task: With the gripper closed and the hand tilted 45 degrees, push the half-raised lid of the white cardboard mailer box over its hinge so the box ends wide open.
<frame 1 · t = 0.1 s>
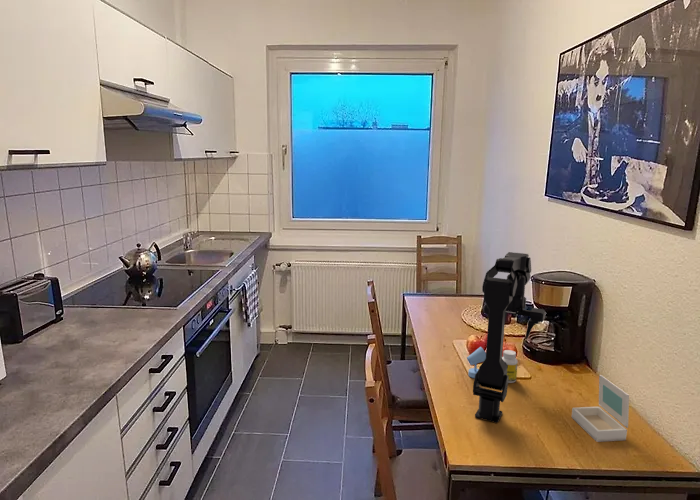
hand: (512, 336, 157), 15 cm above the table, tool pointing down, fingers open, 9 cm apart
spotlight: (476, 375, 161), on the table
lid: (613, 400, 128), point 8 cm above the table, hinge at 85.0°
supplement bottle: (507, 380, 158), on the table
mailer box: (597, 428, 129), on the table
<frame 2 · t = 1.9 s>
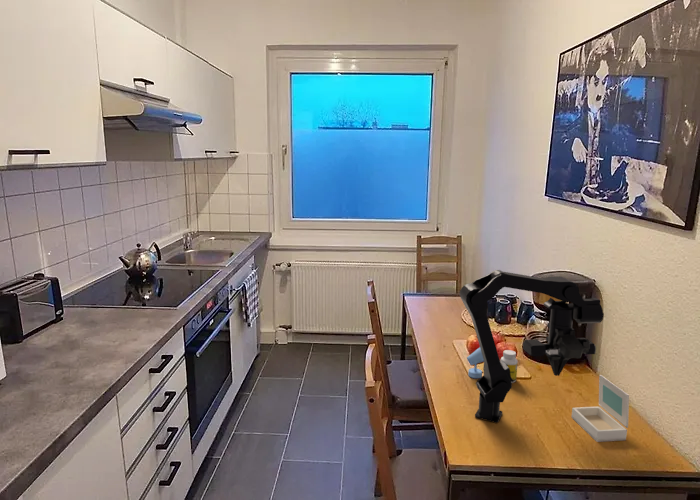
hand: (556, 375, 134), 12 cm above the table, tool pointing down, fingers closed
nothing on the table moved.
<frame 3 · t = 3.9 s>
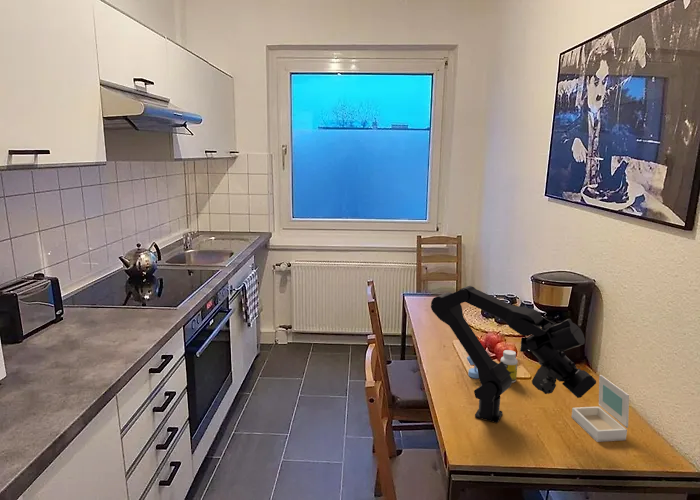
hand: (584, 391, 126), 11 cm above the table, tool tilted 45°, fingers closed
nothing on the table moved.
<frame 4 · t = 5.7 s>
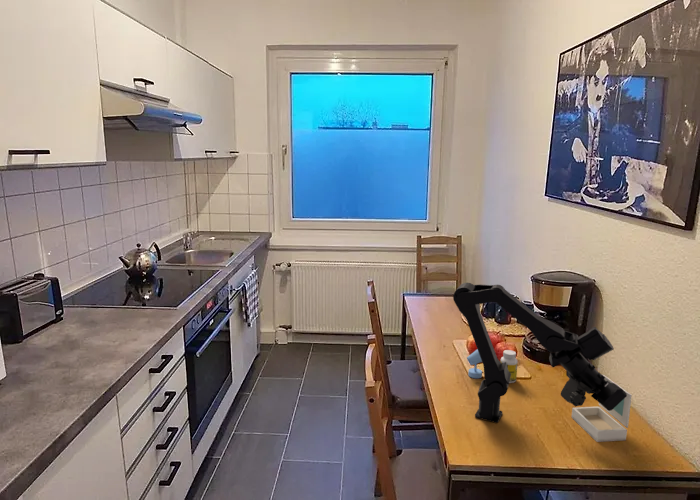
hand: (612, 403, 128), 8 cm above the table, tool tilted 45°, fingers closed, pressing on lid
lid: (614, 400, 128), point 8 cm above the table, hinge at 89.6°, touching gripper
everything else where it was.
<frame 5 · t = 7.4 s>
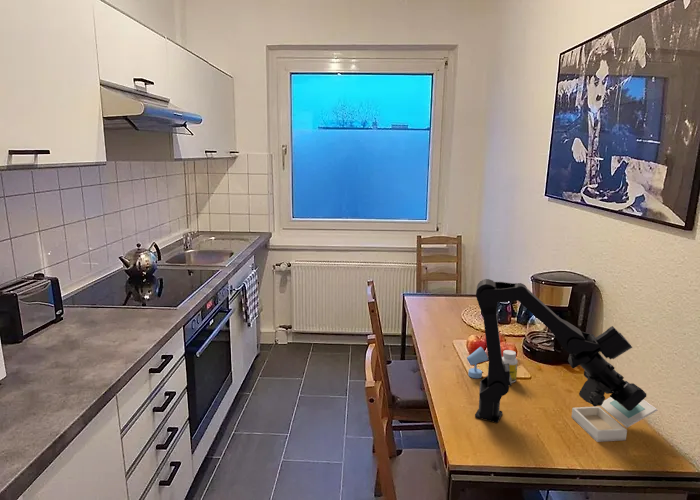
hand: (630, 403, 129), 7 cm above the table, tool tilted 45°, fingers closed, pressing on lid
lid: (626, 406, 129), point 6 cm above the table, hinge at 150.1°, touching gripper
everything else where it was.
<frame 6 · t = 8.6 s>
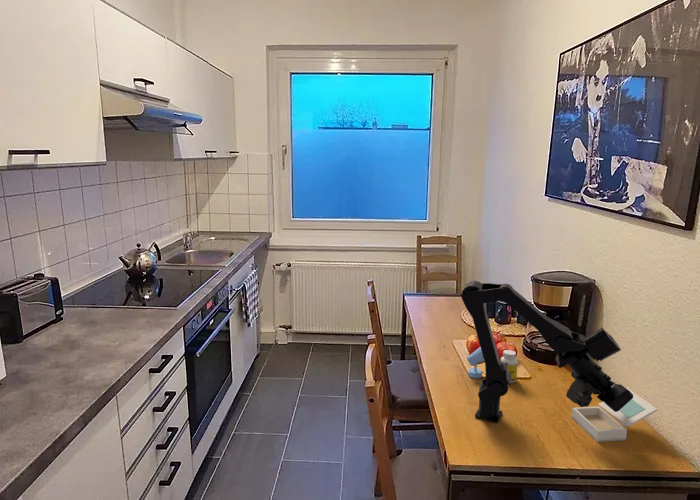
hand: (617, 404, 128), 7 cm above the table, tool tilted 45°, fingers closed
lid: (626, 406, 129), point 6 cm above the table, hinge at 150.2°
everything else where it was.
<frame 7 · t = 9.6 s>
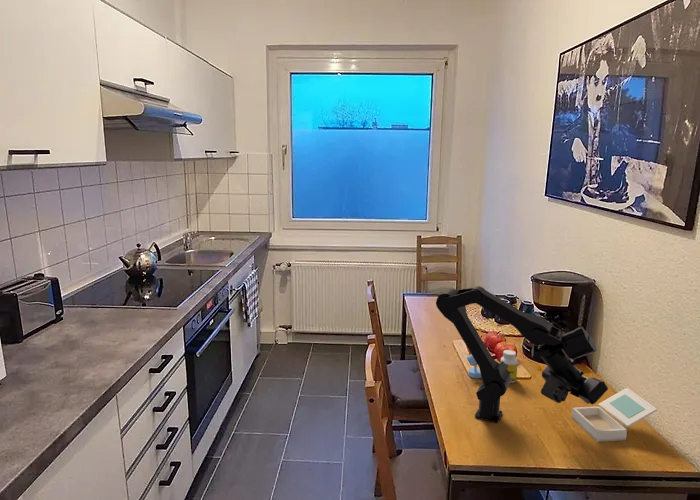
hand: (588, 402, 128), 7 cm above the table, tool tilted 40°, fingers closed
nothing on the table moved.
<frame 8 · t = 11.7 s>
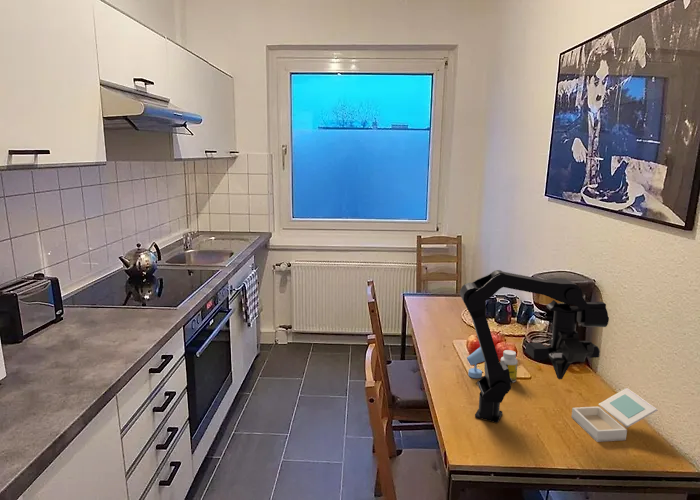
hand: (559, 378, 132), 12 cm above the table, tool pointing down, fingers closed
nothing on the table moved.
at the end: lid at +150° (first picture: +85°) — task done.
